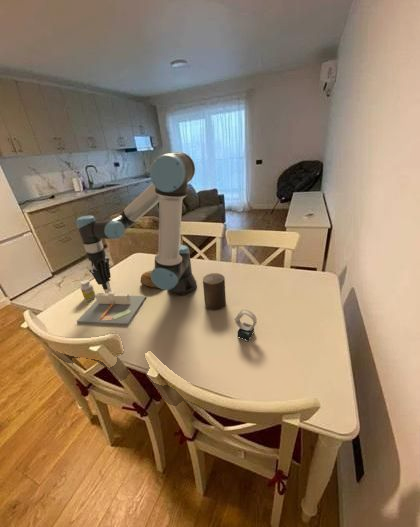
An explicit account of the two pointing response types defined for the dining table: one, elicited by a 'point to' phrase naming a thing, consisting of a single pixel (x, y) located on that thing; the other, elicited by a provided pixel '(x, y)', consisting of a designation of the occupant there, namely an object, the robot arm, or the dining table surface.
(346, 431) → the dining table surface
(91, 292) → the supplement bottle
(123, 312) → the grey tray
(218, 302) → the pillar candle
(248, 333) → the watch
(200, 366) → the dining table surface
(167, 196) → the robot arm
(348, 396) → the dining table surface
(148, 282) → the bread roll
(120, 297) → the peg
